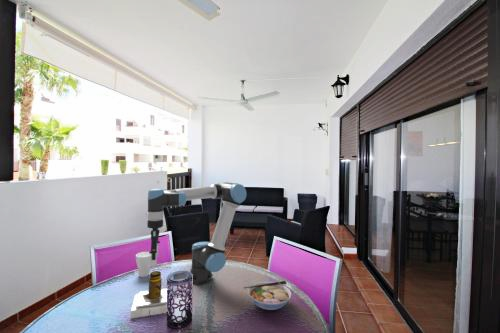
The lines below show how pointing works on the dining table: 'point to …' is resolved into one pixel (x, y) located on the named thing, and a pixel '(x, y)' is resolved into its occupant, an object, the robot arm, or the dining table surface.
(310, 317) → the dining table surface
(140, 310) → the base
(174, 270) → the dining table surface
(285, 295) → the ramen bowl
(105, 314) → the dining table surface
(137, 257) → the cup
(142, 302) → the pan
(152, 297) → the condiment
